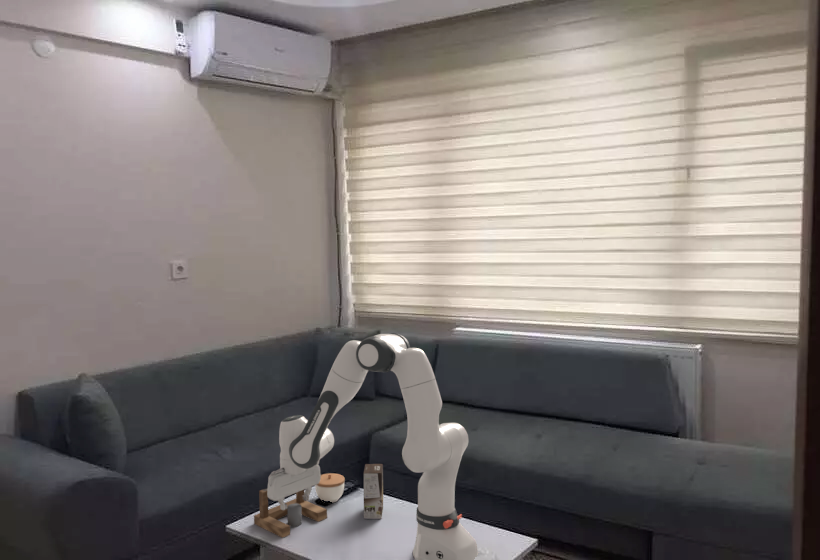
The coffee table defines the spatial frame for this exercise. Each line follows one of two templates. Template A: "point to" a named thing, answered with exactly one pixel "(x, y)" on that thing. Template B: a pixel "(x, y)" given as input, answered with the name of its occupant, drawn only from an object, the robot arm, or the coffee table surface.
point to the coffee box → (373, 491)
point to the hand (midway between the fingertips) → (295, 504)
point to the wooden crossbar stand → (284, 513)
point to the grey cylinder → (294, 515)
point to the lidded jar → (330, 487)
